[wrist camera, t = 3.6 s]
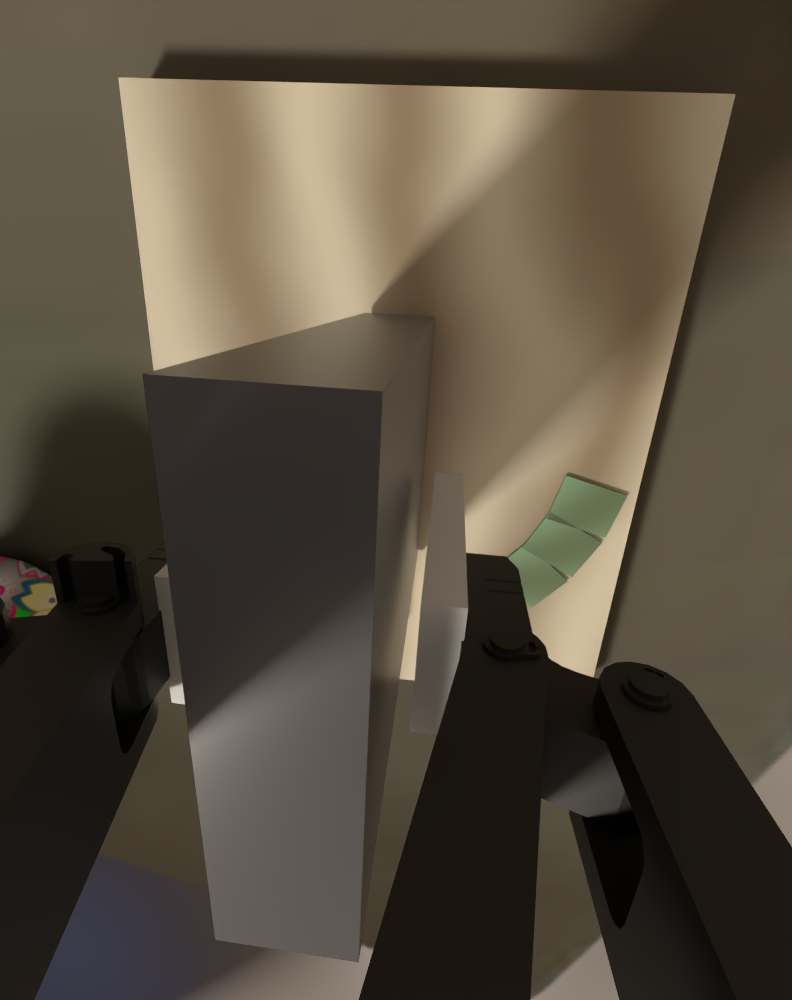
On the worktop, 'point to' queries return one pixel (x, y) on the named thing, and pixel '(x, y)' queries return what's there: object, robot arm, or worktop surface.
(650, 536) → the worktop surface
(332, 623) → the gray square slab
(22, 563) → the mug
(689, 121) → the beige flat board
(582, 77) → the worktop surface
